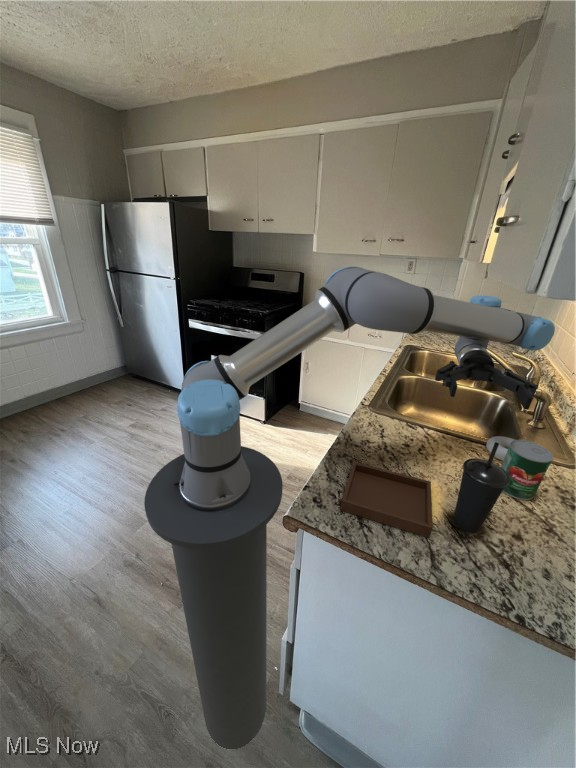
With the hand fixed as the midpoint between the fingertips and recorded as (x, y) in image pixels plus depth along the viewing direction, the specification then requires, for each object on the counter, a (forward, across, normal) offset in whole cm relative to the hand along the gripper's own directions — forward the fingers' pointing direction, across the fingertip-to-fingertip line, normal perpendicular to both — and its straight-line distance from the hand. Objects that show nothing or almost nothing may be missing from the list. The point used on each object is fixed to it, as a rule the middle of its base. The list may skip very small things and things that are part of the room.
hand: (490, 397), depth 65 cm
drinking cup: (+12, 0, -24) cm, 27 cm away
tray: (+12, +16, -23) cm, 31 cm away
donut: (-18, -13, -24) cm, 32 cm away
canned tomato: (-4, -12, -24) cm, 27 cm away
